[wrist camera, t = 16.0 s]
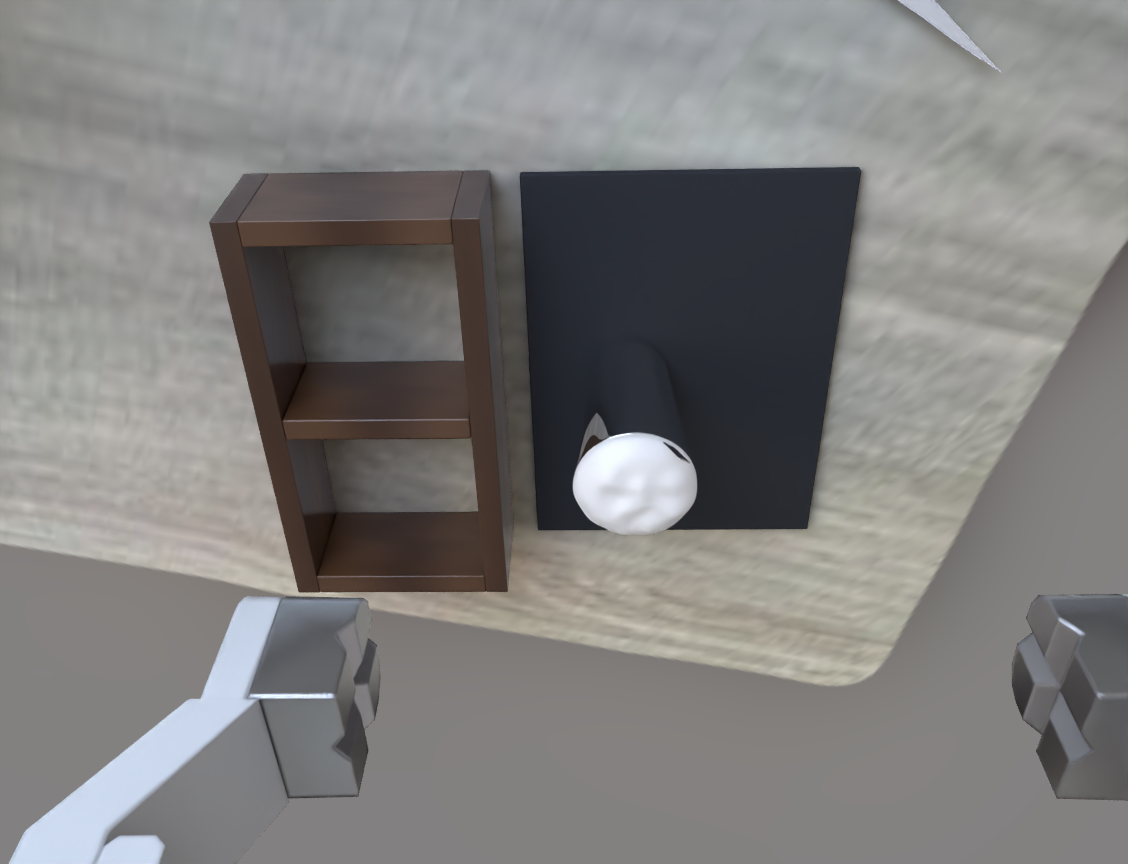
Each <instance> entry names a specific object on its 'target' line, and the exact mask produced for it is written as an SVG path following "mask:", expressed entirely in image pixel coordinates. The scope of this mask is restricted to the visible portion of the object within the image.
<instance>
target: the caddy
mask: <svg viewBox="0 0 1128 864" xmlns="http://www.w3.org/2000/svg"><path fill="white" fill-rule="evenodd" d="M209 224H210V228H211V232H212V236H213V240H214V244H215V248H216V253H217V257H218V261H219V265H220V269H221V273H222V277H223V281H224V286H225V290H226V294H227V298H228V302H229V306H230V310H231V314H232V319H233V323H234V327H235V331H236V335H237V339H238V343H239V348H240V352H241V356H242V360H243V364H244V368H245V372H246V376H247V381H248V385H249V389H250V393H251V397H252V401H253V405H254V410H255V414H256V418H257V422H258V426H259V430H260V434H261V438H262V443H263V447H264V451H265V455H266V459H267V463H268V467H269V472H270V476H271V480H272V484H273V488H274V492H275V496H276V500H277V505H278V509H279V513H280V517H281V521H282V525H283V529H284V534H285V538H286V542H287V546H288V550H289V554H290V558H291V562H292V567H293V571H294V575H295V579H296V583H297V587H298V591H299V592H485V591H486V592H508V585H509V574H510V563H511V552H512V541H513V530H514V523H513V509H512V494H511V480H510V465H509V451H508V436H507V422H506V407H505V393H504V378H503V364H502V349H501V335H500V320H499V306H498V291H497V277H496V262H495V248H494V233H493V219H492V204H491V190H490V175H489V171H488V170H481V171H464V172H463V171H418V172H354V173H289V174H269V175H268V174H244V175H243V176H242V177H241V179H240V180H239V181H238V183H237V184H236V186H235V187H234V188H233V190H232V191H231V192H230V194H229V195H228V197H227V198H226V199H225V201H224V202H223V204H222V205H221V206H220V208H219V209H218V211H217V212H216V213H215V215H214V216H213V217H212V219H211V220H210V222H209ZM420 244H453V246H454V256H455V267H456V277H457V288H458V299H459V309H460V320H461V331H462V341H463V352H464V361H415V362H313V363H307V364H306V359H305V354H304V349H303V344H302V339H301V334H300V329H299V324H298V319H297V314H296V309H295V304H294V299H293V294H292V289H291V284H290V279H289V274H288V269H287V264H286V259H285V254H284V249H283V246H345V245H420ZM471 437H472V447H473V458H474V468H475V479H476V490H477V500H478V511H479V512H393V513H337V514H336V509H335V504H334V499H333V494H332V489H331V484H330V479H329V474H328V469H327V464H326V459H325V454H324V449H323V444H322V440H327V439H460V438H471Z"/></svg>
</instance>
